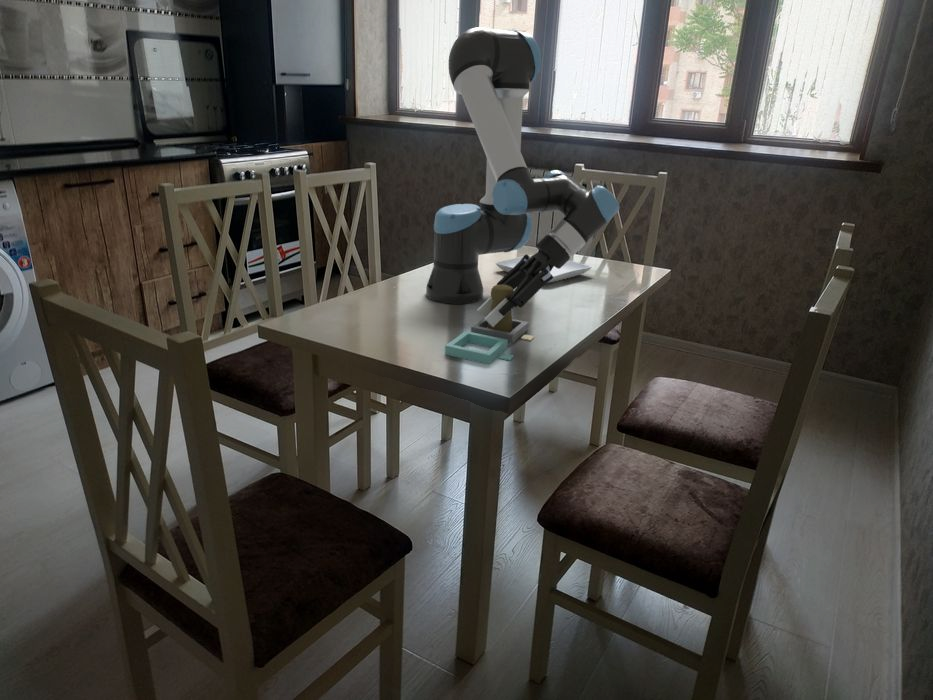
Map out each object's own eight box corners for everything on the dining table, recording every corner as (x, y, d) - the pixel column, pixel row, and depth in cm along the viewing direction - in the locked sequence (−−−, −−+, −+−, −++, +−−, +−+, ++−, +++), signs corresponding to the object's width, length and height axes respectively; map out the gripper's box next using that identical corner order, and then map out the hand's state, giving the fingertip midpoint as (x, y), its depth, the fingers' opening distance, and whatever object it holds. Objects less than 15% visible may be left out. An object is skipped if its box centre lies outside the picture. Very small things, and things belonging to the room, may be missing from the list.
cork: (506, 326, 156) (509, 281, 151) (517, 335, 150) (520, 288, 146) (482, 328, 153) (485, 282, 149) (492, 337, 148) (495, 290, 144)
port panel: (444, 354, 138) (445, 345, 138) (488, 322, 158) (488, 314, 157) (502, 367, 134) (503, 358, 133) (540, 332, 153) (540, 324, 152)
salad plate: (492, 272, 201) (493, 261, 199) (539, 262, 214) (540, 251, 213) (545, 289, 186) (546, 277, 185) (592, 277, 200) (593, 266, 198)
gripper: (586, 267, 141) (507, 343, 143) (554, 246, 157) (484, 315, 159) (565, 243, 138) (485, 321, 140) (535, 224, 154) (463, 295, 156)
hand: (485, 318), depth 150 cm, fingers closed on cork, 5 cm apart
